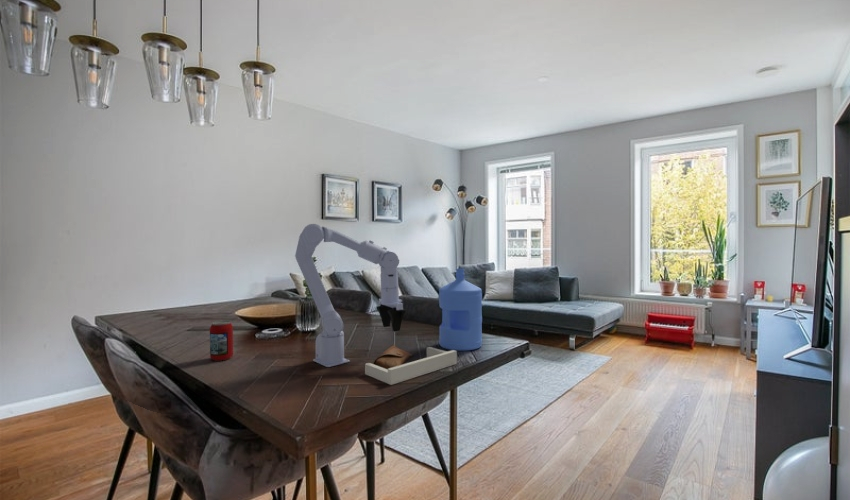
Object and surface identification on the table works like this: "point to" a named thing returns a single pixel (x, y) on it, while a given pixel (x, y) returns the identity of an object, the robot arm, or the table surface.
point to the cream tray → (413, 367)
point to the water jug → (460, 314)
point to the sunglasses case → (392, 358)
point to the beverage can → (221, 340)
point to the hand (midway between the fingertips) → (391, 328)
